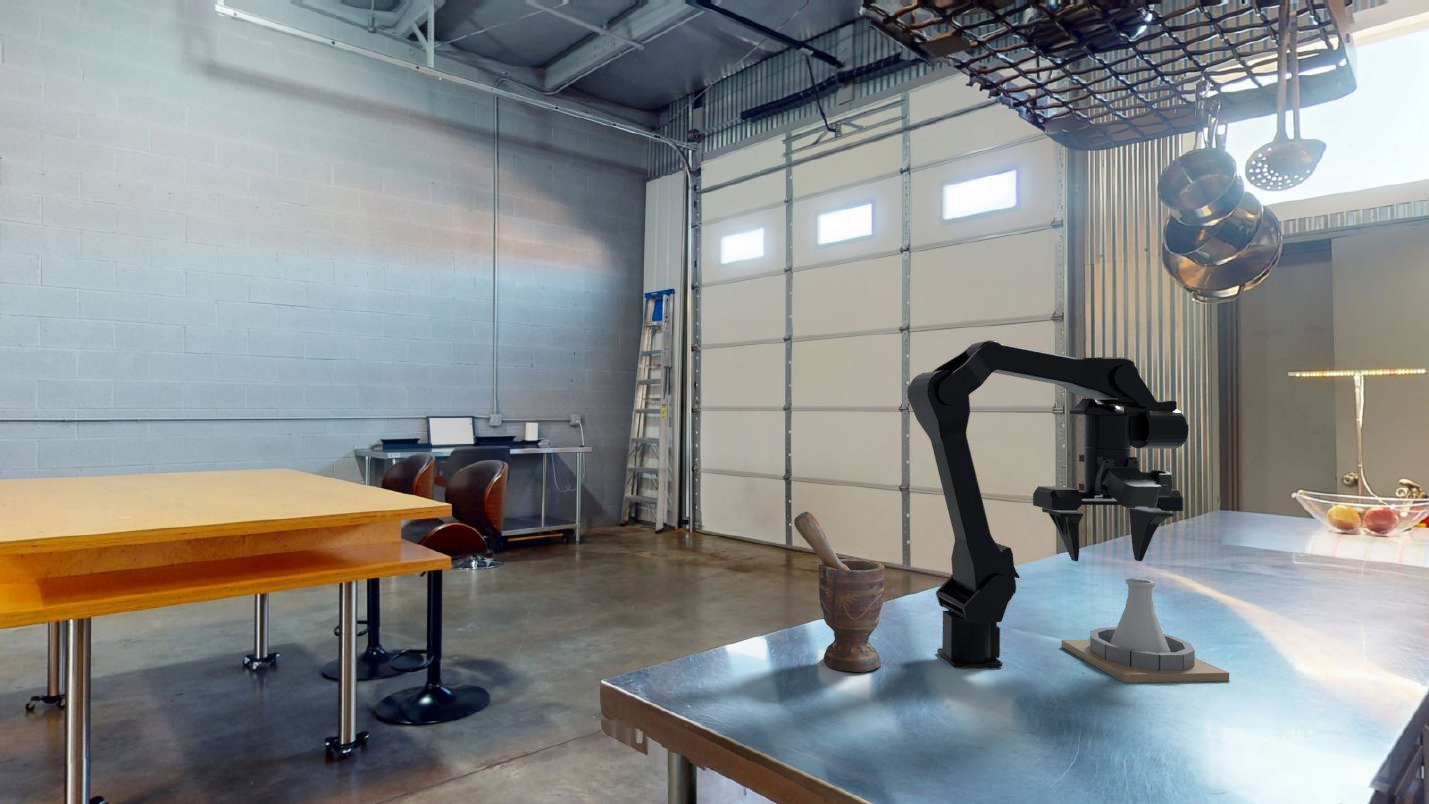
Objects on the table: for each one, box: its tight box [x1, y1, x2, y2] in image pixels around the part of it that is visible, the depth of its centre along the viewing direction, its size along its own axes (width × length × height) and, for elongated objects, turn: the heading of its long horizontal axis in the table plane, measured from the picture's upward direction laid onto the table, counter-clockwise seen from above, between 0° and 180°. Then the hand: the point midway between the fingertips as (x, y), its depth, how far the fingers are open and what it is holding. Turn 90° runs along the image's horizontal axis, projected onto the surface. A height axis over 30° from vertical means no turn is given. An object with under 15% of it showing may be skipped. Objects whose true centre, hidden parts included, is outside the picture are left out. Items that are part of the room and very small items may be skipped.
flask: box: [1110, 578, 1170, 653], centre depth 99 cm, size 7×7×10 cm
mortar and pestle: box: [793, 511, 886, 673], centre depth 97 cm, size 12×9×20 cm
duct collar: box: [1060, 626, 1230, 684], centre depth 99 cm, size 14×14×3 cm
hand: (1106, 560), depth 102 cm, fingers open, 9 cm apart
